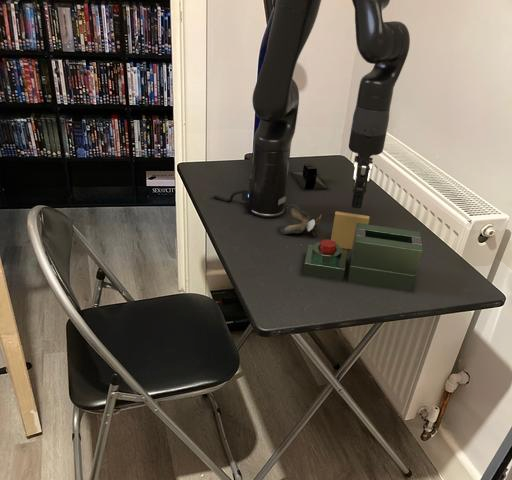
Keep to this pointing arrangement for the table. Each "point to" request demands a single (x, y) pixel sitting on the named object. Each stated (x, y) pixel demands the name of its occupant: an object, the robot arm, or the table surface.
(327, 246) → the button
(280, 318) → the table surface
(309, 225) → the eagle figurine
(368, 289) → the table surface
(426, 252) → the table surface
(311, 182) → the black block on base
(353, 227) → the toast
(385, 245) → the toaster
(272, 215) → the robot arm
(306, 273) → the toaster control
